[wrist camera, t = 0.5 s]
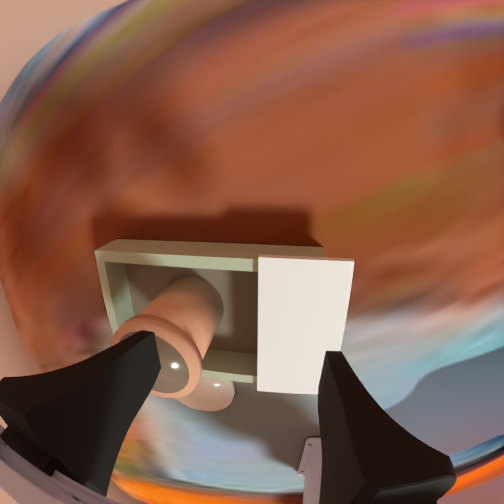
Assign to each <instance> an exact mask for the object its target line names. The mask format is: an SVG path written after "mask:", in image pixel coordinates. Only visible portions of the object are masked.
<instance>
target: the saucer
mask: <svg viewBox="0 0 504 504" xmlns="http://www.w3.org/2000/svg"><path fill="white" fill-rule="evenodd" d="M234 394H235V385H234V382H233V381H228V380H221V379H213V378H206V377H200V378H199V381H198V383H197V385H196V387H195V389H194V390H193V391H192V392H191V393H190V394H188V395H186V396H184V397H180V398H175V399H177V400H178V401H179V402H181V403H182V404H184V405H186V406H188V407H191V408H193V409H196V410H201V411H218V410H222V409H224V408H226V407H227V406H229V405H230V404H231V402H232V400H233V397H234Z"/></svg>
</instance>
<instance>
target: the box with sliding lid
mask: <svg viewBox="0 0 504 504" xmlns="http://www.w3.org/2000/svg"><path fill="white" fill-rule="evenodd" d="M95 256H96V262H97V268H98V273H99V278H100V283H101V288H102V293H103V297H104V302H105V306H106V310H107V314H108V318H109V322H110V326H111V330H112V333H113V335H114V333H115V332H116V330H117V329H118V328H119V327H120V326H121V325H122V324H123V323H124V322H125V321H126V320H127V319H129V318H130V317H133V316H135V315H139V314H140V312H141V311H142V310H143V309H144V308H145V307H146V306H147V305H148V304H149V303H150V302H151V301H152V300H153V299H154V298H155V297H156V296H157V295H158V294H159V293H160V292H161V291H162V289H163V288H164V287H165V286H166V285H167V284H168V283H169V282H170V281H171V280H173V279H174V278H176V277H179V276H183V275H193V276H197V277H200V278H202V279H204V280H206V281H208V282H209V283H210V284H212V285H213V286H214V287H215V288H216V290H217V291H218V292H219V294H220V296H221V298H222V301H223V305H224V313H223V317H222V319H221V321H220V324H219V326H218V328H217V330H216V332H215V334H214V336H213V339H212V341H211V343H210V345H209V347H208V349H207V351H206V353H205V356H204V358H203V371H202V374H201V376H200V377H206V378H213V379H221V380H228V381H237V382H246V383H256V384H257V391H265V392H278V393H295V394H318V386H319V381H320V377H321V372H322V367H323V362H324V357H325V352H326V351H340V349H341V343H342V338H343V333H344V328H345V322H346V316H347V310H348V304H349V297H350V291H351V284H352V276H353V269H354V260H353V259H350V258H328V257H326V255H325V252H324V248H323V247H309V246H287V245H263V244H239V243H213V242H187V241H158V240H128V239H115V240H113V241H112V242H110V243H108V244H106V245H104V246H102V247H100V248H98V249H96V250H95Z"/></svg>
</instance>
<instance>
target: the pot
mask: <svg viewBox="0 0 504 504" xmlns="http://www.w3.org/2000/svg"><path fill="white" fill-rule="evenodd" d="M223 313H224V305H223V301H222V298H221V296H220V294H219V292H218V291H217V290H216V288H215V287H214V286H213V285H212V284H210V283H209V282H208V281H206V280H204V279H202V278H200V277H197V276H193V275H183V276H179V277H176V278H174V279H173V280H171V281H170V282H169V283H168V284H167V285H166V286H165V287H164V288H163V289H162V291H161V292H160V293H159V294H158V295H157V296H156V297H155V298H154V299H153V300H152V301H151V302H150V303H149V304H148V305H147V306H146V307H145V308H144V309H143V310H142V311H141V312H140V314H139V315H135V316H133V317H130V318H129V319H127V320H126V321H125V322H124V323H123V324H122V325H121V326H120V327H119V328H118V329H117V330H116V332H115V333H114V335H113V337H112V341H111V346H113V345H115V344H117V343H119V342H120V341H122V340H124V339H126V338H128V337H129V336H131V335H133V334H135V333H137V332H139V331H141V330H145V331H151V332H154V334H155V339H156V344H157V349H158V354H159V359H160V364H161V370H160V372H159V375H158V377H157V380H156V382H155V384H154V386H153V388H152V390H151V391H150V393H151V394H153V395H156V396H159V397H164V398H180V397H184V396H186V395H188V394H190V393H191V392H192V391H193V390H194V389H195V387H196V385H197V383H198V381H199V378H200V376H201V374H202V371H203V358H204V356H205V353H206V351H207V349H208V347H209V345H210V343H211V341H212V339H213V336H214V334H215V332H216V330H217V328H218V326H219V324H220V321H221V319H222V317H223Z"/></svg>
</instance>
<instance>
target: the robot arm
mask: <svg viewBox="0 0 504 504" xmlns="http://www.w3.org/2000/svg"><path fill="white" fill-rule="evenodd" d="M160 370H161V364H160V359H159V354H158V349H157V344H156V339H155V334H154V332H151V331H145V330H141V331H139V332H137V333H135V334H133V335H131V336H129V337H128V338H126V339H124V340H122V341H120V342H119V343H117V344H115V345H113V346H111V347H110V348H108V349H106V350H104V351H102V352H100V353H98V354H96V355H94V356H92V357H90V358H88V359H86V360H83V361H81V362H79V363H76V364H73V365H71V366H68V367H65V368H61V369H58V370H54V371H51V372H47V373H42V374H37V375H30V376H22V377H4V378H3V379H2V380H1V381H0V416H1V417H2V418H3V420H4V421H5V423H6V424H7V425H8V427H7V428H6V429H4V428H3V427H2V426H1V425H0V487H1V488H2V489H3V490H4V491H5V492H6V493H7V494H8V495H9V496H11V497H12V498H13V499H14V500H15V501H16V502H17V503H18V504H81V503H82V504H120V503H118V502H115V501H113V500H111V499H109V498H106V495H107V490H108V486H109V481H110V478H111V474H112V471H113V468H114V465H115V462H116V459H117V456H118V453H119V451H120V448H121V445H122V443H123V441H124V438H125V436H126V434H127V431H128V429H129V427H130V425H131V423H132V421H133V420H134V418H135V416H136V415H137V413H138V411H139V410H140V408H141V406H142V405H143V403H144V401H145V400H146V398H147V396H148V395H149V393H150V391H151V390H152V388H153V386H154V384H155V382H156V380H157V377H158V375H159V372H160ZM318 415H319V425H320V436H321V438H308V439H307V440H306V443H305V447H304V451H303V455H302V458H301V462H300V466H299V469H298V473H297V474H298V475H299V476H305V478H304V494H303V504H437V500H438V499H439V498H441V497H442V496H443V495H444V494H445V493H446V492H448V491H449V490H450V489H451V488H452V487H453V485H454V484H455V482H456V480H457V479H456V475H455V471H454V468H453V465H452V462H451V460H450V457H449V456H447V455H445V454H443V453H441V452H439V451H437V450H435V449H433V448H432V447H429V446H428V445H426V444H425V443H423V442H422V441H420V440H419V439H417V438H416V437H414V436H413V435H411V434H410V433H409V432H407V431H406V430H405V429H404V428H403V427H401V426H400V425H399V424H398V423H396V422H395V421H394V420H393V419H392V418H391V417H390V416H389V415H388V414H387V413H386V412H385V411H384V410H383V409H382V408H381V407H380V406H379V405H378V403H377V402H376V401H375V400H374V399H373V397H372V396H371V395H370V394H369V393H368V391H367V390H366V389H365V387H364V386H363V384H362V383H361V382H360V380H359V379H358V377H357V376H356V374H355V373H354V371H353V370H352V368H351V367H350V365H349V363H348V362H347V360H346V358H345V357H344V355H343V353H342V352H341V351H326V352H325V357H324V362H323V367H322V372H321V377H320V381H319V386H318Z"/></svg>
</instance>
